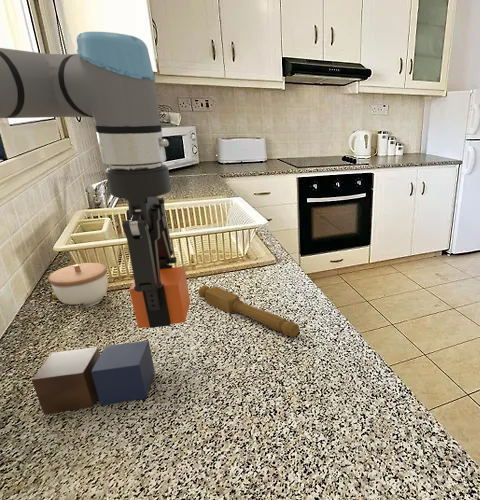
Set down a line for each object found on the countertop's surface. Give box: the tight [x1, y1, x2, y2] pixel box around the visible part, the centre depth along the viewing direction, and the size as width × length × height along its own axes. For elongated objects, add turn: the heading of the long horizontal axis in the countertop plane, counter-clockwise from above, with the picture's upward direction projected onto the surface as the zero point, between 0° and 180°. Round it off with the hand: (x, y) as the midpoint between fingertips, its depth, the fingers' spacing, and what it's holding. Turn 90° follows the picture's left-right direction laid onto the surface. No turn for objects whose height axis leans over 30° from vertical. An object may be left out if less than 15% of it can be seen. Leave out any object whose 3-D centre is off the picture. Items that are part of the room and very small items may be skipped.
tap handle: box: [197, 285, 300, 338], centre depth 83 cm, size 3×3×30 cm
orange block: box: [128, 266, 191, 329], centre depth 58 cm, size 6×6×6 cm
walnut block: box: [31, 346, 101, 415], centre depth 58 cm, size 6×6×6 cm
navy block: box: [91, 340, 156, 406], centre depth 60 cm, size 6×6×6 cm
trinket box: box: [48, 262, 109, 309], centre depth 85 cm, size 11×11×9 cm
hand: (164, 313), depth 59 cm, fingers closed on orange block, 6 cm apart
